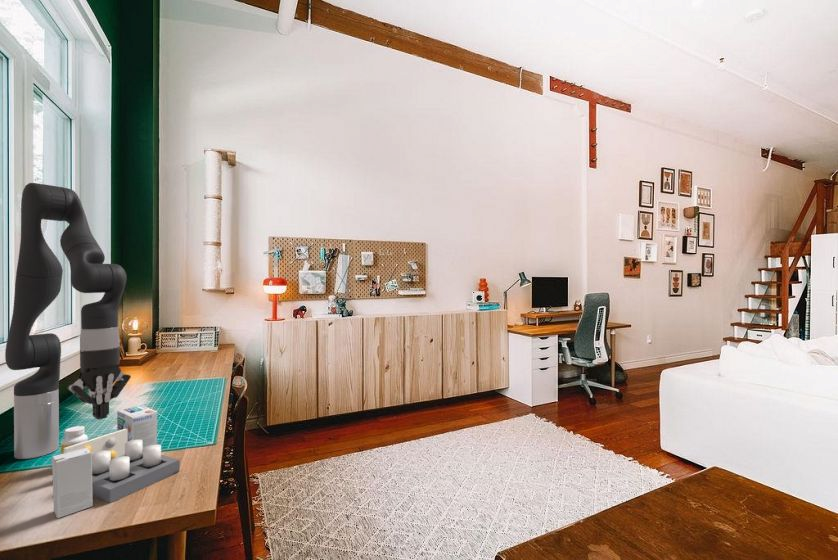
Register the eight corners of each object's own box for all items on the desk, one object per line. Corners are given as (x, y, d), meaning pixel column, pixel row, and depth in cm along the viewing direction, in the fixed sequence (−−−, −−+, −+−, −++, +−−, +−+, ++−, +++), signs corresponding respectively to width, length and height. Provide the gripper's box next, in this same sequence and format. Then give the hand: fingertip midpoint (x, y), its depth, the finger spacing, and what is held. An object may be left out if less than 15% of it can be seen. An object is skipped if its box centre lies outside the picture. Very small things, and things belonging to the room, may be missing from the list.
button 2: (105, 478, 95) (105, 461, 95) (123, 471, 98) (123, 455, 98) (115, 481, 93) (115, 464, 93) (133, 474, 97) (133, 458, 96)
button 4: (139, 464, 101) (139, 449, 101) (154, 458, 105) (154, 443, 105) (149, 467, 100) (149, 452, 100) (164, 461, 103) (164, 446, 103)
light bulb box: (116, 447, 119) (116, 410, 119) (142, 439, 125) (142, 404, 125) (131, 456, 113) (131, 417, 113) (158, 448, 119) (158, 411, 119)
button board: (70, 487, 97) (70, 474, 97) (140, 459, 111) (140, 448, 111) (110, 503, 90) (110, 489, 90) (179, 471, 105) (179, 459, 104)
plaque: (63, 480, 100) (63, 448, 100) (125, 457, 112) (125, 428, 112) (66, 481, 99) (66, 449, 99) (128, 458, 112) (128, 429, 112)
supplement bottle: (72, 471, 104) (72, 433, 104) (55, 469, 106) (55, 431, 105) (93, 462, 110) (92, 425, 110) (76, 460, 111) (76, 424, 111)
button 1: (87, 471, 98) (87, 455, 98) (105, 465, 101) (105, 449, 101) (96, 475, 96) (96, 458, 96) (114, 468, 100) (114, 452, 100)
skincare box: (88, 500, 91) (88, 446, 91) (93, 507, 88) (93, 451, 88) (51, 512, 87) (51, 455, 86) (55, 520, 84) (55, 461, 84)
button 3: (121, 459, 105) (121, 443, 105) (136, 453, 108) (136, 438, 108) (130, 461, 103) (130, 446, 103) (145, 455, 106) (145, 441, 106)
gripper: (120, 341, 106) (121, 408, 106) (58, 349, 94) (59, 425, 94) (138, 343, 103) (139, 412, 103) (76, 352, 91) (77, 430, 91)
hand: (100, 418), depth 99 cm, fingers closed
